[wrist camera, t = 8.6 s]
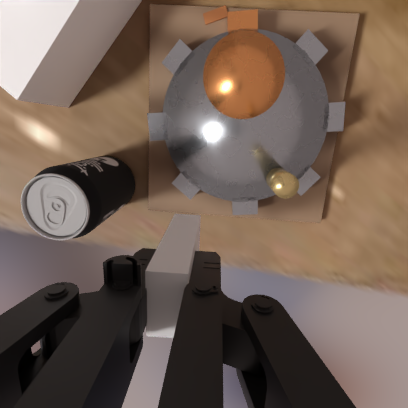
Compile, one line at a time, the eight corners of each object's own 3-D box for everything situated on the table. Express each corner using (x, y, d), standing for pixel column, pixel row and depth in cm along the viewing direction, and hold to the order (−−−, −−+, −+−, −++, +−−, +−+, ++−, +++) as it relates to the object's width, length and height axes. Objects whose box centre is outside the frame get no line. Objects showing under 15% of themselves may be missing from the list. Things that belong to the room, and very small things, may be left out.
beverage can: (143, 166, 33) (101, 185, 21) (129, 214, 35) (83, 255, 23) (92, 147, 33) (21, 156, 21) (80, 196, 34) (9, 230, 23)
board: (152, 6, 28) (149, 1, 27) (355, 16, 28) (360, 11, 26) (150, 207, 34) (147, 210, 33) (317, 220, 33) (321, 223, 32)
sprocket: (117, 94, 30) (92, 86, 24) (278, -28, 26) (295, -74, 20) (214, 239, 33) (213, 261, 28) (368, 150, 30) (403, 155, 24)
